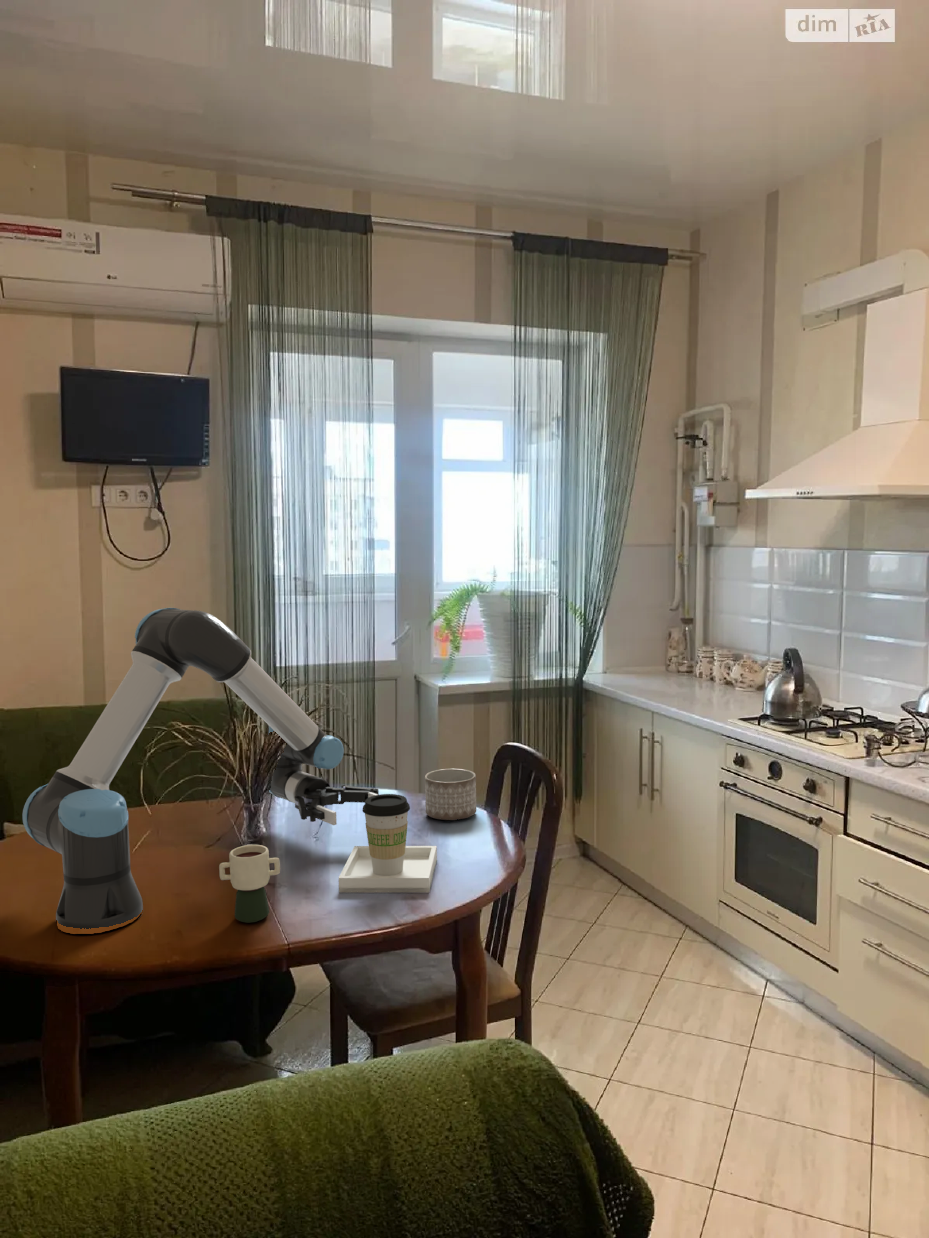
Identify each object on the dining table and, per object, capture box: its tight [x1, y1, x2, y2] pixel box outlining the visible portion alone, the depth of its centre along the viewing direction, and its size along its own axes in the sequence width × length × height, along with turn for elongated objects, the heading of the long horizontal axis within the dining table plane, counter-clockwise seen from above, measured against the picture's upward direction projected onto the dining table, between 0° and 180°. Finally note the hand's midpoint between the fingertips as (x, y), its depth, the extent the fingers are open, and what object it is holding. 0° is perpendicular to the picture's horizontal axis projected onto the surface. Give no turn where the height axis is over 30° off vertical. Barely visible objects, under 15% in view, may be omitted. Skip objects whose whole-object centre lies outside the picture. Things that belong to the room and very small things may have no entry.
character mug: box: [218, 844, 281, 924], centre depth 167 cm, size 11×7×13 cm, turn 102°
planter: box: [424, 768, 477, 821], centre depth 224 cm, size 13×13×10 cm
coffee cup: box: [362, 793, 411, 876], centre depth 186 cm, size 10×10×15 cm
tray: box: [338, 845, 438, 894], centre depth 187 cm, size 18×18×3 cm
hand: (361, 811), depth 193 cm, fingers open, 13 cm apart
